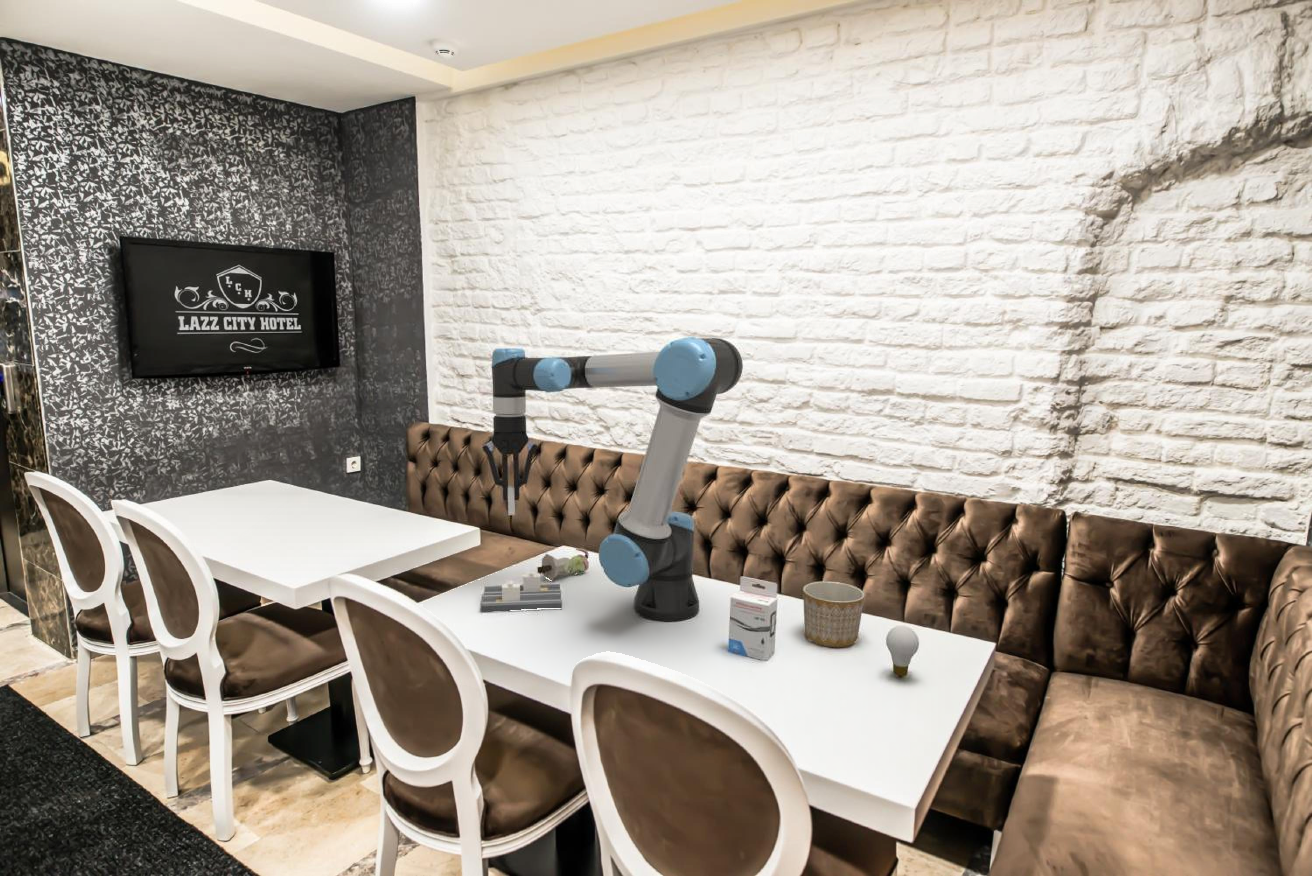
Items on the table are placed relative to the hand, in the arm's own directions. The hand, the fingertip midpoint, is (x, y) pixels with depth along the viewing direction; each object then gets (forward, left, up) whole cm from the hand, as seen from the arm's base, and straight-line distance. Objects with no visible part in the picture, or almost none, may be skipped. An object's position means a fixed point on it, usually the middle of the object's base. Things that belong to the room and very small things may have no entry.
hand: (511, 513), depth 178 cm
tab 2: (-5, +1, -19) cm, 19 cm away
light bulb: (-74, +52, -20) cm, 92 cm away
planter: (-68, +33, -20) cm, 78 cm away
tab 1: (0, +8, -19) cm, 20 cm away
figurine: (-14, -12, -21) cm, 27 cm away
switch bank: (-3, +5, -20) cm, 21 cm away
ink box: (-49, +38, -20) cm, 65 cm away
